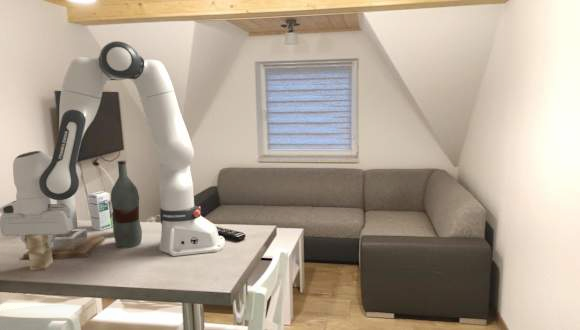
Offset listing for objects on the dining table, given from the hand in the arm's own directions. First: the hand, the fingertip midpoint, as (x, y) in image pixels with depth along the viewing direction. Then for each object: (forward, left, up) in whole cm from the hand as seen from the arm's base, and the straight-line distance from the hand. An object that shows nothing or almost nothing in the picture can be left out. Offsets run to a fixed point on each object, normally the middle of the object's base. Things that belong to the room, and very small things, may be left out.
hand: (39, 247), depth 132 cm
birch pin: (0, 0, -6) cm, 6 cm away
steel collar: (-1, -15, -5) cm, 16 cm away
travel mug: (+8, -36, -6) cm, 37 cm away
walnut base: (0, -15, -6) cm, 16 cm away
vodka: (-21, -18, -6) cm, 28 cm away
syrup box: (-4, -38, -6) cm, 39 cm away
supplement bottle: (-15, -30, -6) cm, 34 cm away
